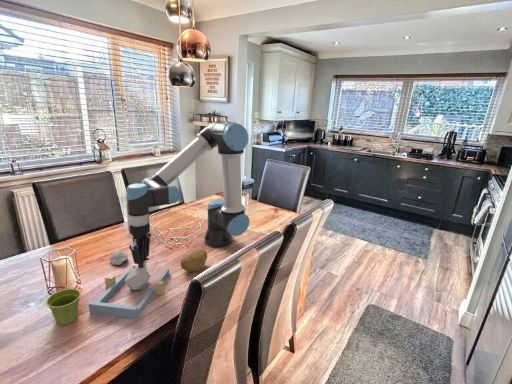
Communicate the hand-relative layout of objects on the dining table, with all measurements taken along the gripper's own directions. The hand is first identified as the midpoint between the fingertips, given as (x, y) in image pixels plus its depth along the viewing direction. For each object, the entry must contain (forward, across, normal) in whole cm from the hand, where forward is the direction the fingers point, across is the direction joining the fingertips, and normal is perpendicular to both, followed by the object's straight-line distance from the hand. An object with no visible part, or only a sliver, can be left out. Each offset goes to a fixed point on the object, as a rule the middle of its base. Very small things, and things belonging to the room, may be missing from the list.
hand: (143, 275), depth 116 cm
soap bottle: (+3, -46, -25) cm, 52 cm away
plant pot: (+2, +25, -14) cm, 29 cm away
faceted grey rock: (+2, +5, +1) cm, 6 cm away
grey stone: (+3, -11, -17) cm, 21 cm away
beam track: (+2, +7, 0) cm, 8 cm away
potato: (+2, -12, +18) cm, 22 cm away
